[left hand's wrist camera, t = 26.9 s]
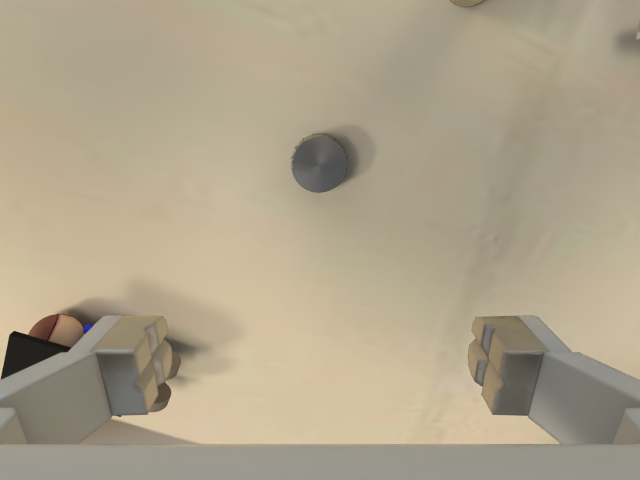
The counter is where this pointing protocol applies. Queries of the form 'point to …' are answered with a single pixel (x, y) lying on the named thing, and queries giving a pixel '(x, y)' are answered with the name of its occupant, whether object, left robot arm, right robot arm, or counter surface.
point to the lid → (319, 163)
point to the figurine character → (62, 349)
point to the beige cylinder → (466, 2)
